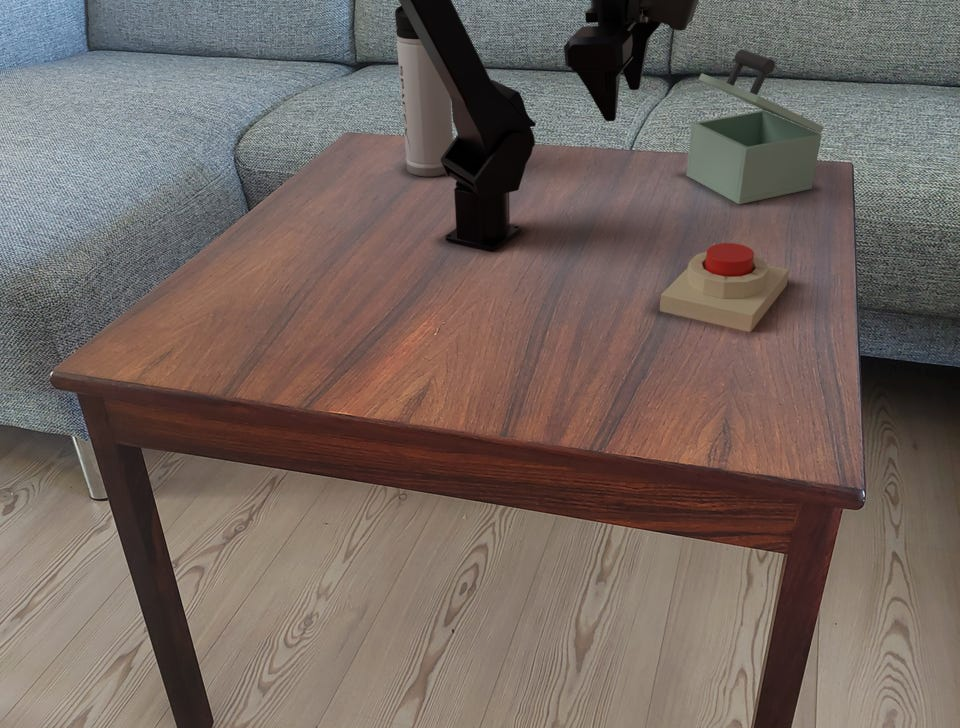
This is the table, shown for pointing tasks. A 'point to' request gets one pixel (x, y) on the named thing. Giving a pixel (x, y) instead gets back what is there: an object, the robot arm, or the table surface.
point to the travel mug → (422, 103)
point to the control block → (724, 294)
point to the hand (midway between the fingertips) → (622, 104)
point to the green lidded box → (752, 156)
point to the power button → (729, 260)
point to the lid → (757, 87)
